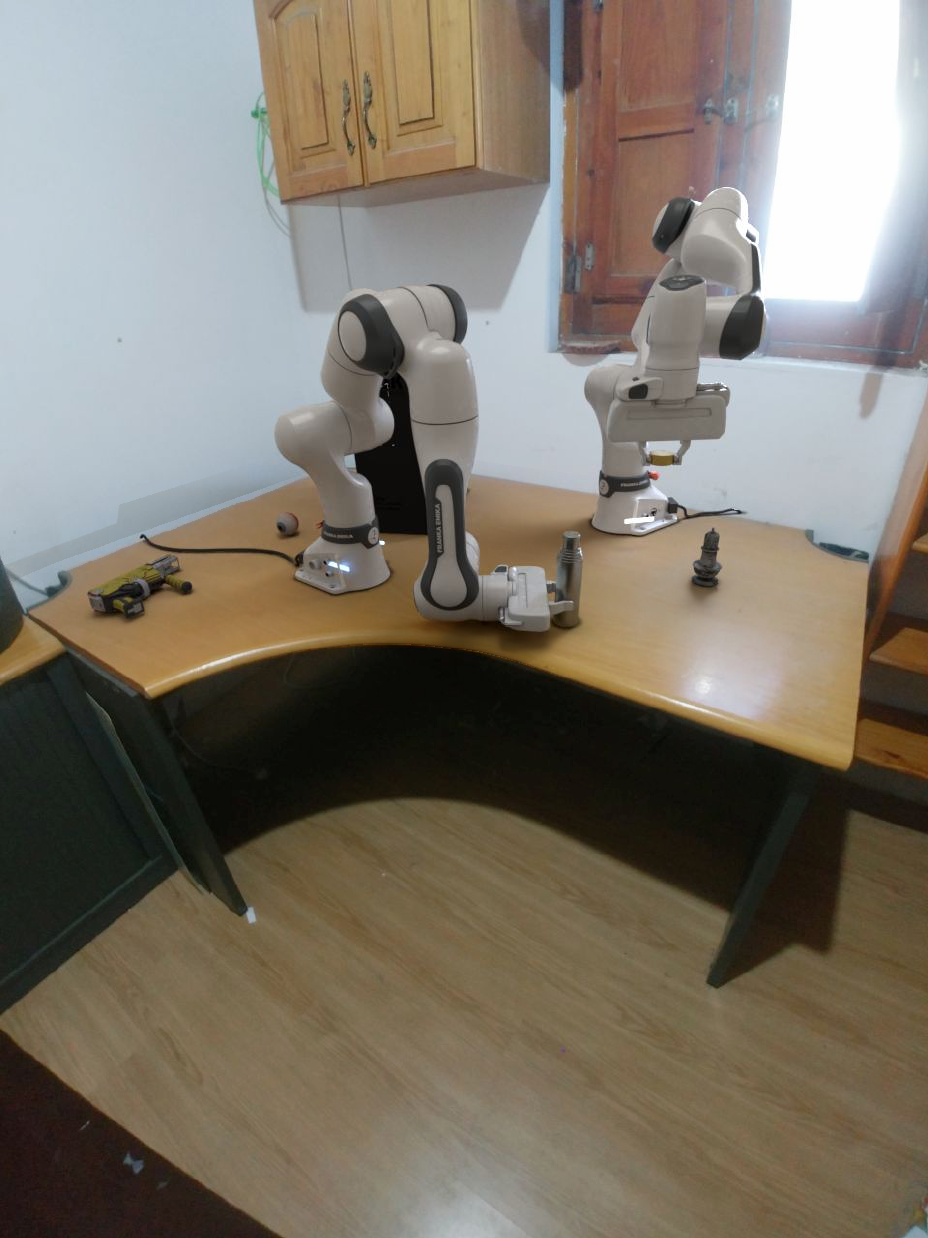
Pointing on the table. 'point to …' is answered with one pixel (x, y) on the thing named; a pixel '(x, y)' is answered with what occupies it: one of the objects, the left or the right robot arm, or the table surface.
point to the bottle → (568, 578)
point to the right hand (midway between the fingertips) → (660, 464)
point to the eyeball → (287, 523)
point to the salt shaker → (708, 561)
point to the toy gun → (136, 587)
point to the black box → (396, 468)
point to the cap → (661, 457)
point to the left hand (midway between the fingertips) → (571, 596)
